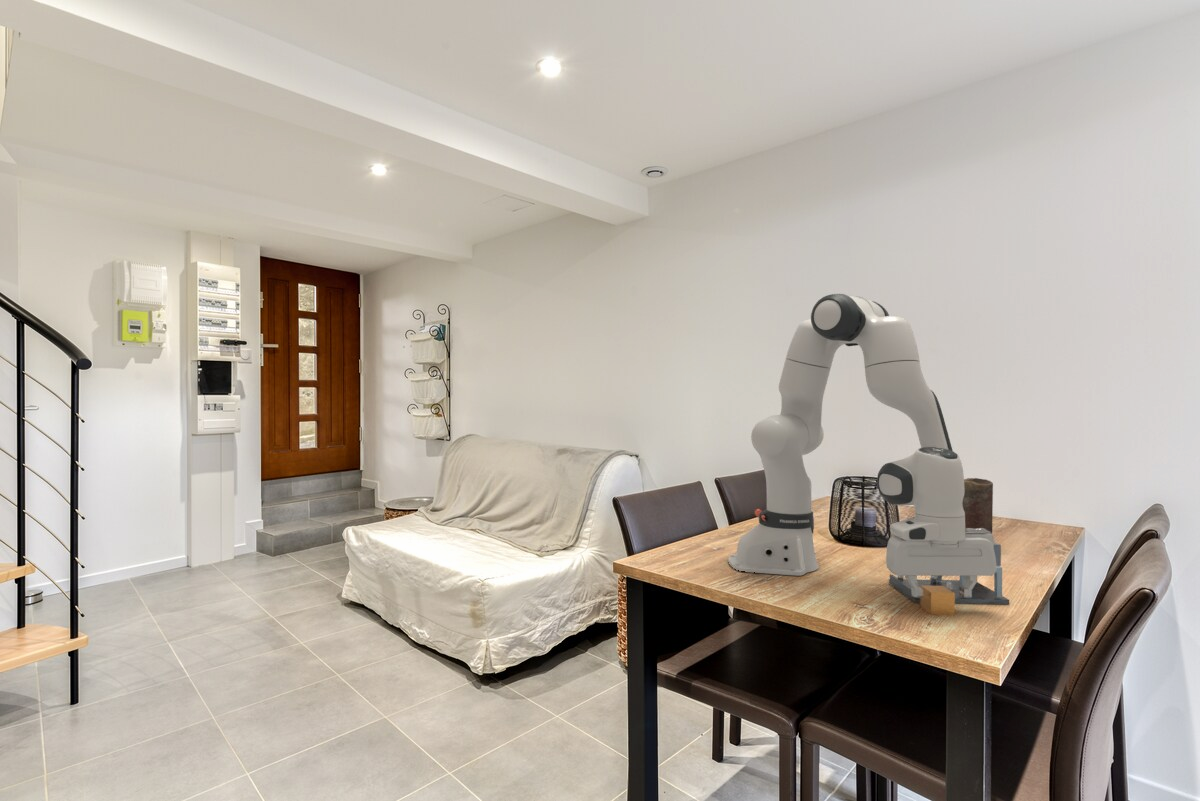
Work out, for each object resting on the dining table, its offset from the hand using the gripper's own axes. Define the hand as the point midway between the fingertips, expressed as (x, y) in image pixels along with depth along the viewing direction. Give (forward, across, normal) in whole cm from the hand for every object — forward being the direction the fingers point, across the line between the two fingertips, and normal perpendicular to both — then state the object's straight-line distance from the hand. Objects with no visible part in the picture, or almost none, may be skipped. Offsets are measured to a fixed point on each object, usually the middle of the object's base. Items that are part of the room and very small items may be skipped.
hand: (941, 596), depth 118 cm
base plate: (+3, -6, -11) cm, 13 cm away
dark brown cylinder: (+3, -34, -49) cm, 59 cm away
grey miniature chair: (+2, -11, -11) cm, 16 cm away
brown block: (+3, +1, 0) cm, 3 cm away
